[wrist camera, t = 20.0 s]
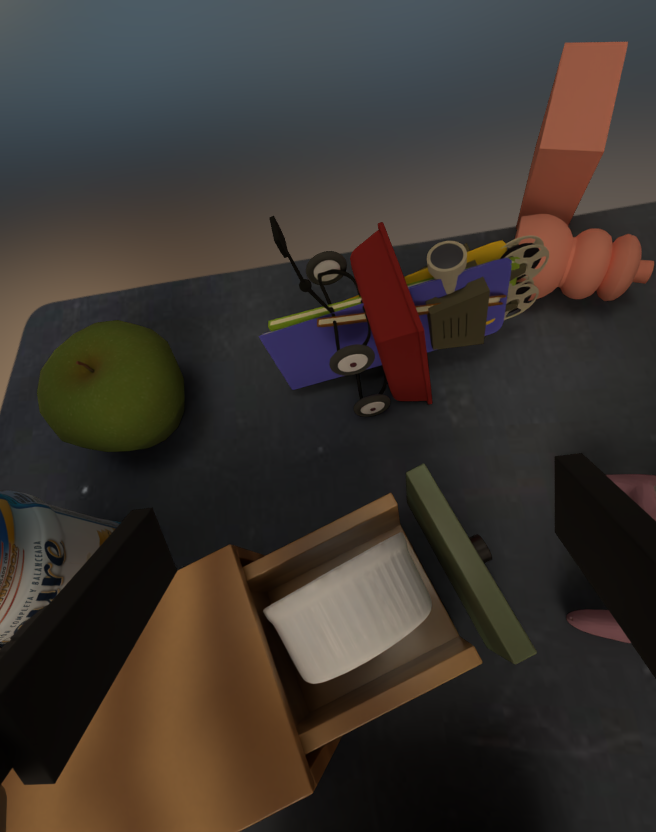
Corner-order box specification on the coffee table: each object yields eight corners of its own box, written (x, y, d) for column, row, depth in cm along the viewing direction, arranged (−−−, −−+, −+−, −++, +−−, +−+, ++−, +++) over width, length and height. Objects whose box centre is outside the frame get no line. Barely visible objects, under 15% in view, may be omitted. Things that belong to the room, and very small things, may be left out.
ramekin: (310, 664, 27) (280, 599, 28) (431, 594, 27) (396, 532, 29) (282, 719, 18) (241, 621, 20) (458, 614, 19) (407, 526, 20)
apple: (235, 407, 37) (178, 345, 28) (145, 499, 35) (54, 463, 26) (163, 346, 41) (95, 275, 32) (80, 424, 39) (-18, 372, 30)
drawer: (435, 486, 31) (443, 453, 24) (521, 630, 26) (561, 641, 19) (254, 578, 30) (208, 571, 23) (310, 739, 26) (274, 790, 19)
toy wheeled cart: (290, 352, 40) (506, 277, 36) (308, 441, 36) (552, 367, 32) (187, 201, 24) (543, 51, 21) (200, 328, 20) (639, 167, 17)
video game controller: (618, 641, 27) (746, 665, 21) (558, 629, 26) (674, 651, 20) (607, 490, 31) (714, 471, 24) (554, 475, 30) (651, 452, 23)
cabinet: (278, 559, 31) (230, 543, 23) (344, 732, 26) (313, 793, 18) (103, 648, 31) (-13, 665, 23) (136, 839, 26) (4, 954, 18)
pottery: (565, 42, 32) (721, 40, 29) (536, 144, 41) (653, 149, 38) (512, 260, 30) (675, 280, 27) (494, 316, 39) (615, 335, 36)
